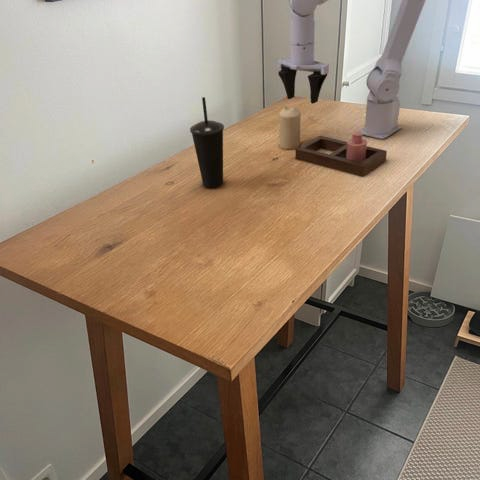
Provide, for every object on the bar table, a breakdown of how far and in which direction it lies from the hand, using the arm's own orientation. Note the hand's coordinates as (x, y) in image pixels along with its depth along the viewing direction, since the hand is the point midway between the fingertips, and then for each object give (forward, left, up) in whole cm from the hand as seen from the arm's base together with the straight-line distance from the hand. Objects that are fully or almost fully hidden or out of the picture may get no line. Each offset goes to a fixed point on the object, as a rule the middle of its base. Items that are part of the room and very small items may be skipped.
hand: (302, 100), depth 133 cm
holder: (+6, +16, -10) cm, 20 cm away
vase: (+6, +21, -10) cm, 24 cm away
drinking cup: (+34, -1, -10) cm, 36 cm away
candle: (+6, 0, -10) cm, 12 cm away
